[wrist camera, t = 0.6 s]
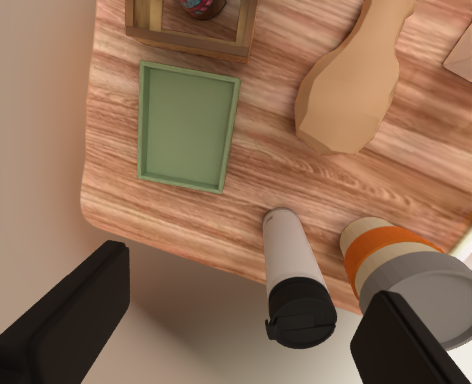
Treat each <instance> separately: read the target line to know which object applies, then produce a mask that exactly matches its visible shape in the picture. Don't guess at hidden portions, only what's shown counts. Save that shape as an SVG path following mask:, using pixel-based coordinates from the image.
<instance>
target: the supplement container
mask: <svg viewBox="0 0 472 384" xmlns="http://www.w3.org/2000/svg"><path fill="white" fill-rule="evenodd" d="M177 1H178V2H179V4H180V5H181V6H182V8H183V9H184V10H185V11H186V12H187V13H188V14H189V15H190V16H192V17H194V18H197V19H208V18H211V17H213V16H215V15H216V14H217V13H219V12H220V10H221V9H222V8H223V6H224V4H225V2H226V0H177Z"/></svg>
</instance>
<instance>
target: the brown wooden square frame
mask: <svg viewBox="0 0 472 384" xmlns="http://www.w3.org/2000/svg"><path fill="white" fill-rule="evenodd" d="M258 6H259V0H241V7H240V13H239V20H238V27H237V34H236V40H235V42H233V41H228V40H222V39H217V38H211V37H206V36H200V35H195V34H189V33H184V32H178V31H173V30H167V29H162V14H163V0H125V25H126V35H127V36H131V37H133V38H134V39H136V40H138V41H139V42H141V43H143V44H144V45H148V46H153V47H158V48H164V49H169V50H175V51H180V52H186V53H191V54H197V55H202V56H208V57H213V58H219V59H224V60H229V61H235V62H240V63H246V64H249V58H250V53H251V47H252V41H253V35H254V29H255V23H256V18H257V12H258Z"/></svg>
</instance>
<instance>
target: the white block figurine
mask: <svg viewBox="0 0 472 384" xmlns="http://www.w3.org/2000/svg"><path fill="white" fill-rule="evenodd" d="M443 67H444V68H446V69H448V70H450V71H452V72H453V73H455V74H457V75H459V76H461V77H462V78H464V79H466V80H468V81H470V82H471V83H472V23H471V24H470V26H469V27H468V29H467V30H466V32H465V33H464V34H463V36H462V37H461V39H460V40H459V41H458V43H457V44H456V46H455V47H454V49H453V50H452V51H451V53H450V54H449V56H448V57H447V58H446V60H445V61H444V63H443Z"/></svg>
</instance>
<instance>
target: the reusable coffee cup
mask: <svg viewBox="0 0 472 384" xmlns="http://www.w3.org/2000/svg"><path fill="white" fill-rule="evenodd" d="M339 243H340V249H341V252H342V254H343V257H344V267H345V270H346V273H347V275H348V278H349V281H350V284H351V287H352V289H353V292H354V295H355V296H356V298H357V299H358V300H359V306H360V309H361V311H362V314H363V315H364V314H365V312H366V310H367V307H368V305H369V303H370V301H371V299H372V297H373V295H374V294H375V293H378V292H379V291H380V290H386V291H392V292H397V293H399V294H401V295H402V296H403V297H404V299H405V300H406V301H407V303H408V304H409V305H410V306H411V308H412V309H413V310H414V311H415V313H416V314H417V315H418V316H419V318H420V319H421V320H422V322H423V323H424V324H425V325H426V327H427V328H428V329H429V330H430V332H431V333H432V334H433V336H434V337H435V338H436V339H437V341H438V342H439V343H440V344H441V346H442V347H443V348H444V350H445V351H449V350H452V349H454V348H457V347H459V346H462V345H464V344H466V343H467V342H469V341H471V340H472V270H470V269H469V268H468V267H467V266H466V265H465V264H464V263H463V262H461V261H460V260H458V259H457V258H455V257H453V256H450V255H448V254H445V253H444V252H443V251H442V250H441V249H440V248H438V247H437V246H435V245H434V244H432V243H430V242H428V241H427V240H425V239H423V238H421V237H419V236H418V235H416V234H414V233H412V232H410V231H409V230H406V229H404V228H401V227H396V226H394V225H392V224H391V223H389V222H387V221H385V220H383V219H381V218H377V217H365V218H361V219H358V220H356V221H354V222H352V223H351V224H349V225H348V226H347V227H346V228H345V229H344V231H343V232H342V234H341V237H340V242H339Z"/></svg>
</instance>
